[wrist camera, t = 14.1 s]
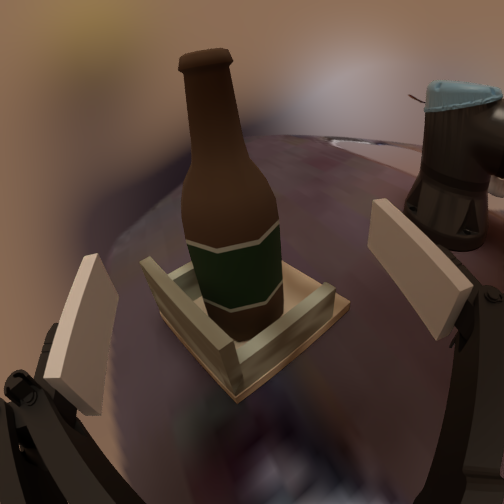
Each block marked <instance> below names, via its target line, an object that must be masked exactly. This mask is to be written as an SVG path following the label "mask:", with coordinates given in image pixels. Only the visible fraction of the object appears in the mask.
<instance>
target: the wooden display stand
mask: <svg viewBox="0 0 504 504" xmlns="http://www.w3.org/2000/svg"><path fill="white" fill-rule="evenodd" d="M139 263H140V265H141V268H142V270H143V272H144V275H145V277H146V280H147V282H148V284H149V287H150V289H151V291H152V294H153V296H154V298H155V301H156V303H157V305H158V307H159V310H160V314H161V316H162V318H163V320H164V321H165V323H166V324H167V325H168V326H169V328H170V329H171V330H172V331H173V332H174V334H175V335H176V336H177V337H178V339H179V340H180V341H181V342H182V343H183V345H184V346H185V347H186V348H187V349H188V350H189V352H190V353H191V354H192V355H193V356H194V357H195V359H196V360H197V361H198V362H199V363H200V364H201V365H202V367H203V368H204V369H205V370H206V371H207V372H208V373H209V374H210V376H211V377H212V378H213V379H214V380H215V381H216V382H217V383H218V384H219V385H220V386H221V387H222V389H223V390H224V391H225V392H226V393H227V394H228V395H229V396H230V397H231V398H232V399H233V400H234V401H235V402H236V403H237V404H238V403H239V402H241V401H242V400H243V399H245V398H246V397H247V396H249V395H250V394H251V393H253V392H254V391H255V390H257V389H258V388H259V387H260V386H262V385H263V384H264V383H265V382H267V381H268V380H269V379H271V378H272V377H273V376H274V375H276V374H277V373H278V372H279V371H280V370H282V369H283V368H284V367H285V366H287V365H288V364H289V363H290V362H291V361H292V360H294V359H295V358H296V357H297V356H298V355H300V354H301V353H302V352H303V351H304V350H305V349H307V348H308V347H309V346H310V345H311V344H312V343H313V342H315V341H316V340H317V339H318V338H319V337H320V336H321V335H322V334H323V333H325V332H326V331H327V330H328V329H329V328H330V327H331V326H332V325H333V324H334V323H335V322H337V321H338V320H339V319H340V318H341V317H342V316H343V315H344V314H345V313H346V312H347V311H348V310H349V308H350V301H348V300H347V299H345V298H343V297H342V296H340V295H338V294H337V293H335V292H336V288H335V287H333V286H332V285H330V284H328V283H327V282H325V283H324V284H323V285H322V284H320V283H318V282H317V281H315V280H313V279H312V278H310V277H308V276H307V275H305V274H303V273H302V272H300V271H298V270H297V269H295V268H293V267H292V266H290V265H288V264H287V263H285V262H283V261H282V275H283V293H284V312H283V314H282V316H281V317H280V318H279V319H278V320H276V321H275V322H274V323H273V324H271V325H270V326H269V327H267V328H266V329H264V330H263V331H262V332H260V333H259V334H258V335H256V336H255V337H254V338H252V339H249V340H245V341H241V342H239V341H236V340H234V339H232V338H230V337H229V336H228V335H227V334H226V333H225V332H224V331H223V330H222V329H221V328H220V327H219V326H218V325H217V324H216V323H215V322H214V321H213V320H212V319H211V318H209V317H208V314H207V310H206V307H205V304H204V301H203V298H202V294H201V291H200V288H199V284H198V281H197V278H196V274H195V271H194V267H193V264H192V261H191V262H189V263H187V264H186V265H184V266H182V267H180V268H178V269H177V270H175V271H173V272H171V273H170V274H168V275H167V274H166V273H165V272H164V271H163V270H162V269H161V268H160V267H159V266H158V264H157V263H156V262H155V261H154V260H153V259H152V258H151V257H150V256H149V257H148V258H146V259H144V260H142V261H140V262H139Z"/></svg>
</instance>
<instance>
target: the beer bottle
mask: <svg viewBox="0 0 504 504" xmlns="http://www.w3.org/2000/svg"><path fill="white" fill-rule="evenodd" d="M232 62H233V59H232V57H231V55H230V53H229V50H228V49H223V48H215V49H207V50H201V51H195V52H191V53H187V54H184V55H183V56H181V57H180V59H179V67H178V71H180V72H182V73H183V74H184V83H185V93H186V102H187V111H188V120H189V128H190V136H191V153H192V163H191V166H190V168H189V171H188V173H187V175H186V177H185V180H184V182H183V189H182V197H181V213H182V222H183V228H184V233H185V239H186V243H187V246H188V250H189V253H190V257H191V260H192V264H193V267H194V271H195V274H196V278H197V281H198V284H199V288H200V291H201V294H202V298H203V301H204V304H205V307H206V310H207V314H208V317H209V318H211V319H212V320H213V321H214V322H215V323H216V324H217V325H218V326H219V327H220V328H221V329H222V330H223V331H224V332H225V333H226V334H227V335H228V336H229V337H230V338H232V339H234V340H236V341H239V342H241V341H245V340H249V339H252V338H254V337H255V336H256V335H258V334H259V333H260V332H262V331H263V330H264V329H266V328H267V327H269V326H270V325H271V324H273V323H274V322H275V321H276V320H278V319H279V318H280V317H281V316H282V314H283V312H284V293H283V275H282V258H281V242H280V227H279V216H278V210H277V204H276V198H275V196H274V194H273V192H272V190H271V188H270V186H269V183H268V181H267V179H266V178H265V176H264V175H263V174H262V172H261V171H260V170H259V168H258V167H257V166H256V165H255V164H254V162H253V161H252V160H251V159H250V158H249V155H248V152H247V149H246V146H245V143H244V140H243V135H242V130H241V125H240V120H239V115H238V109H237V104H236V99H235V94H234V89H233V84H232V79H231V74H230V69H229V66H230V64H231V63H232Z"/></svg>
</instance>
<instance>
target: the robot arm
mask: <svg viewBox="0 0 504 504" xmlns="http://www.w3.org/2000/svg"><path fill="white" fill-rule="evenodd" d="M502 98H503V94H502V91H501V90H500V88H498V87H494V86H489V85H482V84H477V83H469V82H460V81H447V80H435V81H432V82H431V83H430V84H429V85H428V87H427V92H426V104H425V108H424V112H425V127H424V139H423V148H422V157H421V167H420V172H419V174H418V176H417V178H416V180H415V182H414V184H413V186H412V188H411V190H410V192H409V194H408V196H407V198H406V200H405V204H404V211H403V213H402V212H401V211H399V210H398V209H397V208H396V207H395V206H394V205H393V204H392V203H390V202H389V201H388V200H387V199H386V198H383V199H377V200H373V202H372V212H371V221H370V229H369V237H368V245H367V247H368V248H369V249H370V251H371V252H372V253H373V254H374V256H375V257H376V258H377V259H378V261H379V262H380V263H381V265H382V266H383V267H384V268H385V270H386V271H387V272H388V274H389V275H390V276H391V278H392V279H393V280H394V282H395V283H396V284H397V286H398V287H399V289H400V290H401V291H402V293H403V294H404V295H405V297H406V298H407V300H408V301H409V302H410V304H411V305H412V307H413V308H414V309H415V311H416V312H417V314H418V315H419V317H420V318H421V319H422V321H423V322H424V324H425V325H426V327H427V328H428V330H429V331H430V333H431V334H432V336H433V337H434V339H435V340H436V341H437V340H439V339H441V338H444V337H446V336H448V335H449V334H450V333H451V331H452V329H453V327H454V325H455V326H456V328H457V329H458V332H457V334H456V335H455V337H454V339H453V341H452V342H451V344H450V347H449V348H452V347H453V345H454V343H455V351H454V360H453V368H452V376H451V382H450V389H449V395H448V400H447V405H446V410H445V415H444V420H443V424H442V429H441V433H440V437H439V441H438V444H437V448H436V452H435V455H434V459H433V462H432V465H431V468H430V471H429V474H428V477H427V480H426V483H425V486H424V488H423V490H422V491H421V492H420V494H419V495H418V496H417V497H416V499H415V500H414V502H413V504H502V501H503V498H504V479H503V478H502V477H501V476H500V466H501V461H502V456H503V450H504V294H502V293H501V292H500V291H499V290H498V289H497V288H495V287H493V286H489V285H485V286H482V285H481V284H480V283H479V281H478V280H477V279H476V278H475V277H474V276H473V275H472V274H471V273H470V271H469V270H468V269H467V268H466V267H465V266H464V265H462V263H461V262H460V261H459V260H458V259H456V257H455V256H454V255H453V254H452V253H451V252H450V251H449V250H448V249H451V250H458V251H467V250H473V249H476V248H478V247H480V246H481V245H482V244H483V242H484V240H485V237H486V234H487V231H488V188H489V183H490V179H491V176H495V177H498V178H501V179H504V99H502ZM118 299H119V295H118V293H117V291H116V289H115V288H114V286H113V284H112V282H111V280H110V278H109V276H108V274H107V271H106V269H105V267H104V265H103V263H102V261H101V259H100V257H99V255H98V253H97V254H92V255H88V256H84V258H83V261H82V263H81V265H80V268H79V270H78V273H77V275H76V277H75V280H74V283H73V285H72V288H71V290H70V293H69V296H68V298H67V301H66V304H65V307H64V310H63V312H62V315H61V319H60V321H59V323H54V324H53V326H52V327H51V328H50V330H49V331H48V333H47V336H46V338H45V342H44V345H43V348H42V354H41V355H40V359H39V362H38V365H37V369H36V372H35V376H34V379H33V378H32V377H31V376H30V375H29V374H28V373H27V372H26V371H24V370H16V371H14V372H13V373H12V374H11V375H10V376H9V377H8V378H7V380H6V382H5V386H4V394H5V396H7V397H8V398H9V399H10V400H11V401H12V402H9V403H6V402H5V401H4V400H3V399H2V398H0V503H1V504H68V503H69V504H146V503H145V502H144V501H143V500H142V499H141V498H140V497H139V495H138V494H137V493H136V492H135V491H134V490H133V489H132V488H131V487H130V485H129V484H128V483H127V482H126V481H125V480H124V479H123V477H122V476H121V475H120V474H119V473H118V471H117V470H116V469H115V468H114V466H113V465H112V464H111V463H110V462H109V460H108V459H107V458H106V456H105V455H104V454H103V452H102V451H101V450H100V448H99V447H98V445H97V444H96V443H95V441H94V440H93V439H92V437H91V436H90V434H89V433H88V431H87V430H86V428H85V427H84V425H83V424H82V422H81V421H80V420H79V419H78V418H77V417H76V413H77V409H78V410H79V411H80V412H81V413H83V414H84V415H86V416H99V415H101V413H102V402H103V392H104V383H105V375H106V368H107V361H108V354H109V348H110V341H111V335H112V330H113V324H114V319H115V314H116V309H117V304H118ZM19 445H20V448H19ZM20 449H21V451H20ZM67 501H68V502H67Z"/></svg>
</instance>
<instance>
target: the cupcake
mask: <svg viewBox="0 0 504 504" xmlns="http://www.w3.org/2000/svg"><path fill="white" fill-rule="evenodd" d="M488 193H490V194H492V195H494V196H496V197H501V198H503V197H504V179H501V178H498V177H495V176H491V179H490V183H489V188H488Z"/></svg>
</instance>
